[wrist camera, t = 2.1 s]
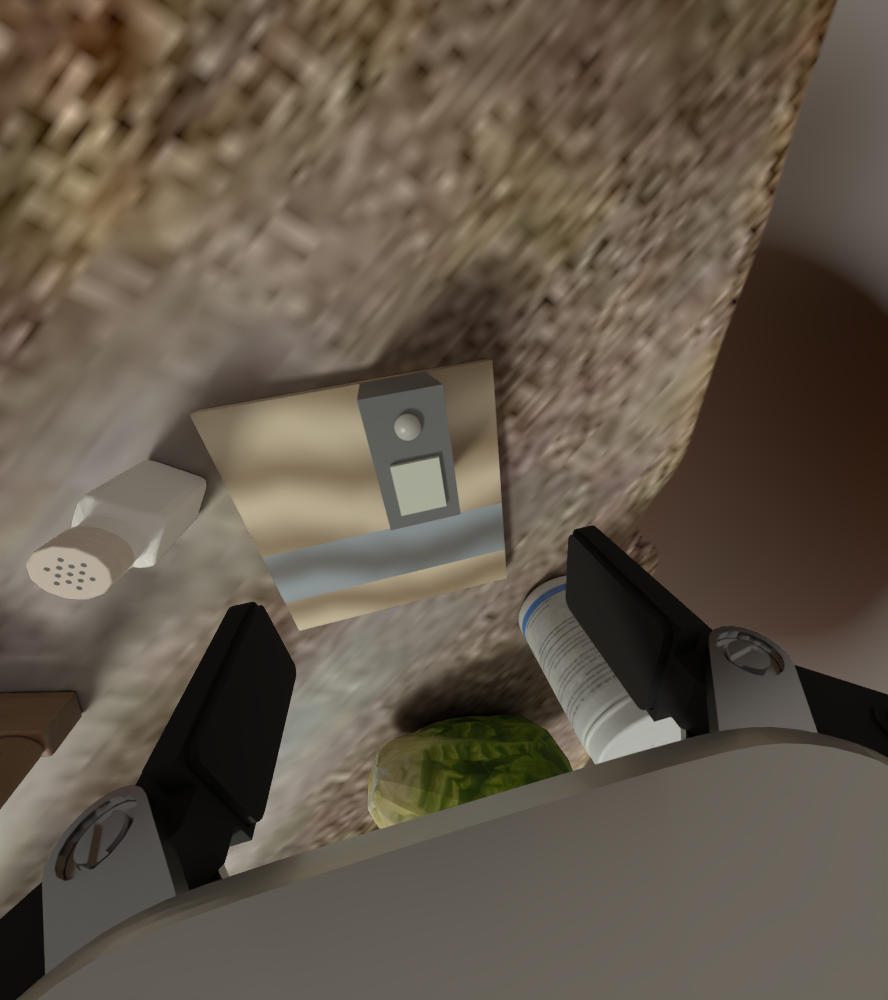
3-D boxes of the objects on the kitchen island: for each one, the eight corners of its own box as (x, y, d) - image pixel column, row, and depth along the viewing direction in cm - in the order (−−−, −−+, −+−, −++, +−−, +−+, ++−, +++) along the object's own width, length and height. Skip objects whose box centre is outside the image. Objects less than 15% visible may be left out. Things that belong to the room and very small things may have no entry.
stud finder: (359, 383, 22) (356, 401, 17) (425, 372, 23) (444, 385, 17) (386, 489, 26) (391, 532, 20) (442, 477, 26) (461, 516, 21)
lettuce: (384, 679, 47) (390, 720, 32) (537, 705, 50) (610, 754, 35) (352, 825, 42) (340, 958, 26) (524, 843, 45) (604, 972, 30)
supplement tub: (510, 640, 39) (581, 793, 26) (522, 576, 35) (612, 721, 22) (585, 629, 41) (685, 766, 28) (604, 566, 36) (733, 695, 24)
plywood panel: (197, 410, 22) (189, 414, 21) (486, 358, 24) (492, 360, 23) (301, 620, 31) (299, 630, 30) (502, 570, 34) (506, 577, 33)
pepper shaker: (135, 502, 24) (9, 595, 15) (146, 454, 23) (16, 526, 14) (198, 521, 25) (114, 614, 17) (212, 477, 24) (129, 554, 16)
